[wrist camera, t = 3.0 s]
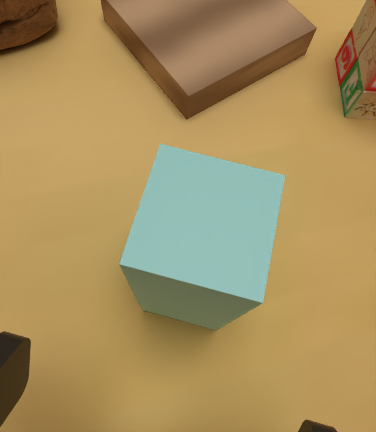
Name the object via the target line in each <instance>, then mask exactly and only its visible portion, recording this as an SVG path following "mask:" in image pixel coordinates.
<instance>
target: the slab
mask: <svg viewBox="0 0 376 432" xmlns="http://www.w3.org/2000/svg"><path fill="white" fill-rule="evenodd" d="M101 5H102V10H103V15H104V20H105V21H106V22H107V24H108V25H109V26H110V27H111V28H112V30H113V31H114V32H115V33H116V34H117V36H118V37H119V38H120V39H121V40H122V42H123V43H124V44H125V45H126V46H127V48H128V49H129V50H130V51H131V53H132V54H133V55H134V56H135V57H136V59H137V60H138V61H139V62H140V63H141V65H142V66H143V67H144V68H145V69H146V71H147V72H148V73H149V74H150V75H151V77H152V78H153V79H154V80H155V81H156V83H157V84H158V85H159V86H160V87H161V89H162V90H163V91H164V92H165V93H166V95H167V96H168V97H169V98H170V99H171V101H172V102H173V103H174V104H175V106H176V107H177V108H178V109H179V110H180V112H181V113H182V114H183V115H184V116H185V118H186V119H188V118H190V117H192V116H194V115H196V114H197V113H199V112H201V111H203V110H205V109H207V108H208V107H210V106H212V105H214V104H216V103H217V102H219V101H221V100H223V99H225V98H227V97H228V96H230V95H232V94H234V93H236V92H237V91H239V90H241V89H243V88H245V87H247V86H248V85H250V84H252V83H254V82H256V81H257V80H259V79H261V78H263V77H265V76H266V75H268V74H270V73H272V72H274V71H276V70H277V69H279V68H281V67H283V66H285V65H286V64H288V63H290V62H292V61H294V60H296V59H297V58H299V57H301V56H303V55H305V53H306V51H307V49H308V46H309V44H310V42H311V40H312V38H313V35H314V33H315V31H316V29H317V28H316V27H315V26H314V25H313V24H312V23H311V22H310V21H309V20H308V19H307V18H305V17H304V16H303V15H302V14H301V13H300V12H299V11H298V10H297V9H296V8H295V7H294V6H292V5H291V4H290V3H289V2H288V1H287V0H101Z"/></svg>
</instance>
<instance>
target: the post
mask: <svg viewBox="0 0 376 432" xmlns="http://www.w3.org/2000/svg"><path fill="white" fill-rule="evenodd" d="M284 179H285V175H282V174H278V173H274V172H270V171H266V170H262V169H258V168H254V167H250V166H246V165H242V164H238V163H234V162H230V161H226V160H222V159H218V158H215V157H211V156H207V155H203V154H199V153H195V152H191V151H187V150H183V149H179V148H175V147H171V146H167V145H163V144H160V146H159V149H158V152H157V155H156V158H155V161H154V164H153V167H152V170H151V173H150V175H149V178H148V181H147V184H146V187H145V190H144V193H143V196H142V199H141V202H140V205H139V208H138V210H137V213H136V216H135V219H134V222H133V225H132V228H131V231H130V234H129V237H128V240H127V243H126V245H125V248H124V251H123V254H122V257H121V260H120V263H119V265H120V267H121V269H122V271H123V273H124V275H125V277H126V279H127V281H128V283H129V285H130V286H131V288H132V290H133V292H134V294H135V296H136V298H137V300H138V302H139V304H140V306H141V308H142V310H144V311H148V312H151V313H155V314H159V315H162V316H166V317H169V318H173V319H177V320H180V321H184V322H188V323H191V324H195V325H199V326H202V327H206V328H209V329H213V330H218V329H219V328H221V327H223V326H224V325H226V324H228V323H230V322H231V321H233V320H235V319H236V318H238V317H240V316H242V315H243V314H245V313H247V312H248V311H250V310H252V309H253V308H255V307H257V306H259V305H260V304H262V303H263V300H264V294H265V288H266V283H267V277H268V271H269V265H270V260H271V254H272V248H273V242H274V237H275V231H276V225H277V219H278V214H279V208H280V202H281V196H282V191H283V185H284Z"/></svg>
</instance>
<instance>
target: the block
mask: <svg viewBox="0 0 376 432" xmlns="http://www.w3.org/2000/svg"><path fill="white" fill-rule="evenodd" d="M56 20H57V8H56V1H55V0H0V50H2V49H6V48H10V47H15V46H19V45H22V44H25V43H28V42H31V41H33V40H34V39H36V38H38V37H40V36H42V35H43V34H45V33H47V32H48V31H49V30H50V29H51V28H52V27H53V26H54V25H55V23H56Z"/></svg>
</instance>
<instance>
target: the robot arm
mask: <svg viewBox="0 0 376 432" xmlns="http://www.w3.org/2000/svg"><path fill="white" fill-rule="evenodd" d="M30 346H31V341H30V339H29V338H26V337H22V336H19V335H15V334H12V333H9V332H5V331H4V332H1V333H0V427H1V425H2V424H3V422H4V421H5V419H6V418H7V416H8V415H9V414H10V412H11V411H12V409H13V408H14V406H15V405H16V403H17V402H18V400H19V399H20V397H21V396H22V394H23V392H24V390H25V387H26V384H27V381H28V377H29V363H30ZM298 432H337V431H336V429H335V428H334V427H331V426H327V425H324V424H320V423H317V422H313V421H310V420H305V421H304V422H303V423H302V425H301V427H300V429H299V431H298Z"/></svg>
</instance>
